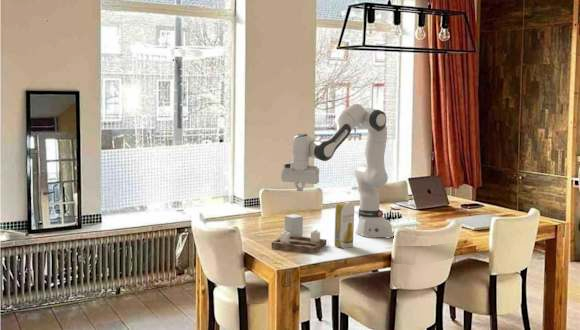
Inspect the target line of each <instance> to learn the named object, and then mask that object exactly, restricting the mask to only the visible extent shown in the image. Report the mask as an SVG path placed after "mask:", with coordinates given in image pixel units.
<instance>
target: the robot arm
mask: <svg viewBox="0 0 580 330" xmlns="http://www.w3.org/2000/svg"><path fill="white" fill-rule="evenodd" d="M333 127H334V129H335V132H334V134H333V135H332V136H331V137H330V138H329V139H327V140H318V139H315V138H312V137H311V136H310V135H308V133H299V134H296V135H295V136H294V137H293V139H292V148H291V149H292V158H291V161H289V162H285V163H283V164H282V167H283V168H282V170H281V175H280V178H281V182H286V183H294V186H295V187H296V191H297V192H304V188H305V186H306V184H308V185H309V184H311V185H317V184H319V183H320V176H319V175H320V168H319V167H318V166H316V165H310V158H312V159H316V160H319V161H321V162H322V161H323V162H327V161H329V160H331V159H332V158H333V156H334V154H335V152H336V151H337V149H338V148H339V147H340V146H341V144H343V143H344V141H345V140H346V139H347V138H349V136H350V135H351V132H352V131H353V130H354V129H355V128H356V127H360V128H364V129H367V132H368V133H367V136H366V141H365V143H366V144H365V148H364V157H365V158H366V164H359V165H357V167H356V168H355V170H354V172H353V173H354V175H353V176H354V177H355V179H356V182H357V186H358V190H359V208H358V214H357V215H358V222H357V228H356V231H355V233H356V234H357V235H359V236H361V237H363V236H364V238H376V237H393V235H394V232H395V231H393V227H392V224H391V222H390V221H389V220H387V219H386V218H385V217H384V216H383V215H384V214H383V212H384V210H381V209H380V194H379V192H378V189H377V188H380V187H385V185H386V184H387V183H388V179H389V176H388V173H387V172H386V167H385V153H386V146H387V141H388V127H387V115H386V113H385V112H384V111H382V110H380V109H375V108H364V107H363V106H362V105H361V104H360V103H352V104H351V105H349V106H347V107H346V108H344V109H343V110H342V111H341V112H339V114H337V116H336V117H335V118H334V119H333ZM299 184H300V185H301V187H300V186H299ZM393 238H394V237H393Z"/></svg>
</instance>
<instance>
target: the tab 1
mask: <svg viewBox="0 0 580 330" xmlns="http://www.w3.org/2000/svg"><path fill="white" fill-rule="evenodd" d="M279 238H280V242H282V243H288V244H290V233H289V232H287V231H285V230H284V231H282V232H280V237H279Z"/></svg>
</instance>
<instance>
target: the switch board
mask: <svg viewBox="0 0 580 330" xmlns="http://www.w3.org/2000/svg"><path fill="white" fill-rule="evenodd" d="M326 246H327V239H326V238H325V239H324V238H320V242H312V241H311V237H305V236H302V237H299V236H293V235H290V244H288V243H282V242H280V237H278V238H277V239H275V240H273V241H271V249H275V250H284V251H293V252H300V253H306V254H307V253H308V254H317V253H318V252H319V251H321V250H322V249H323V248H324V247H326Z"/></svg>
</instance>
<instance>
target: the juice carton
mask: <svg viewBox="0 0 580 330" xmlns="http://www.w3.org/2000/svg"><path fill="white" fill-rule="evenodd" d="M334 213H335V214H334V215H335V216H334V247H337V248H340V249H346V248H351V247H353V246H354V233H355V232H354V229H355V227H354V226H355V224H354V223H355V204H354V203H351V202H350V201H344V202H342V203H335V212H334Z"/></svg>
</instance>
